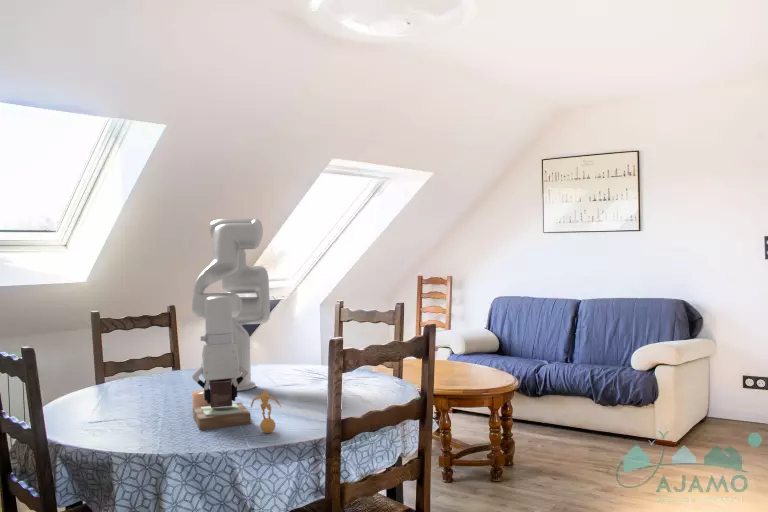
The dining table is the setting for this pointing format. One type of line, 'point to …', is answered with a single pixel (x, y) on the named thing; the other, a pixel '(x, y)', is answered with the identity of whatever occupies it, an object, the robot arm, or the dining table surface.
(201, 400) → the peach rounded block
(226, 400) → the box
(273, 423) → the figurine
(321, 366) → the dining table surface
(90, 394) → the dining table surface
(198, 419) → the stand
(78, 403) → the dining table surface
